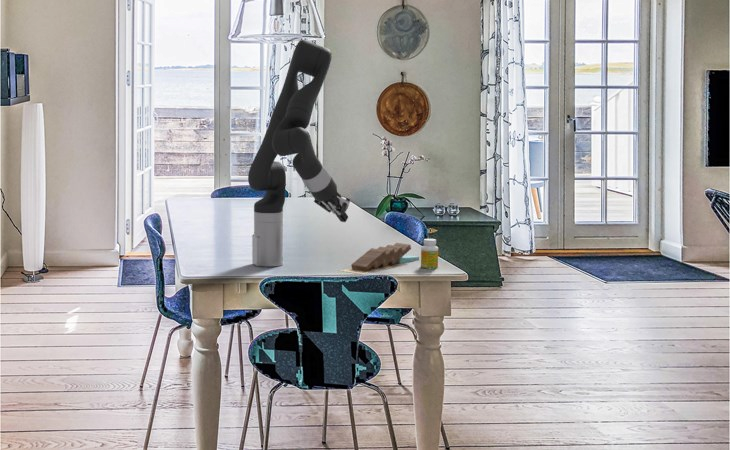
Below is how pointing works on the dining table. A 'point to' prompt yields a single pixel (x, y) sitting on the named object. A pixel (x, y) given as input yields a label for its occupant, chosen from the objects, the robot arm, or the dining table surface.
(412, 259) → the domino
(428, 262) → the supplement bottle
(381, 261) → the domino
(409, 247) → the domino
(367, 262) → the domino
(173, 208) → the dining table surface
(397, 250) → the domino
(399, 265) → the domino board
